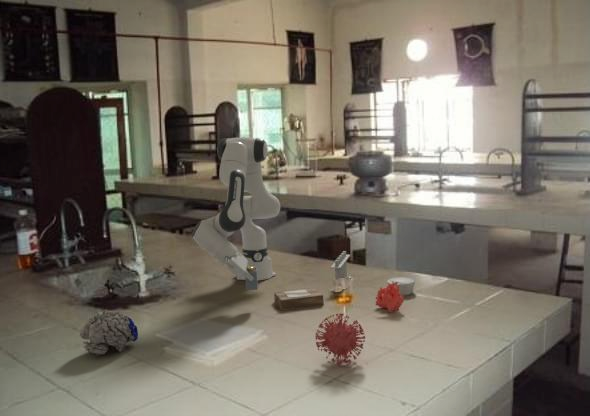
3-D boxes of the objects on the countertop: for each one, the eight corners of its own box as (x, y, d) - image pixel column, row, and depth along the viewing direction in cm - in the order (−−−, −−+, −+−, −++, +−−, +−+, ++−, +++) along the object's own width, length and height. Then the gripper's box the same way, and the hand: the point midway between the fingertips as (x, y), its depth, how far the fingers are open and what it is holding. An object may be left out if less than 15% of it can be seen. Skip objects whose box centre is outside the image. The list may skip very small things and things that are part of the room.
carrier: (246, 286, 249) (245, 268, 248) (257, 285, 249) (256, 267, 248) (246, 290, 244) (245, 271, 243) (257, 289, 244) (256, 271, 243)
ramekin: (386, 296, 256) (385, 283, 256) (388, 288, 267) (388, 276, 266) (414, 297, 254) (413, 284, 253) (415, 289, 264) (415, 277, 264)
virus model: (306, 363, 189) (304, 316, 187) (339, 349, 199) (337, 304, 197) (343, 376, 179) (341, 326, 177) (375, 361, 189) (374, 313, 187)
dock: (274, 302, 255) (274, 292, 254) (314, 297, 260) (313, 287, 259) (282, 310, 244) (281, 299, 243) (323, 304, 248) (323, 294, 248)
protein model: (378, 309, 244) (381, 279, 245) (406, 314, 237) (409, 283, 238) (367, 309, 237) (370, 278, 238) (396, 314, 230) (399, 282, 231)
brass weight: (247, 270, 247) (247, 266, 247) (254, 269, 247) (254, 265, 247) (247, 271, 244) (247, 267, 244) (254, 271, 244) (254, 267, 244)
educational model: (138, 364, 210) (151, 320, 214) (95, 357, 194) (109, 309, 197) (109, 356, 218) (122, 313, 221) (65, 349, 201) (79, 302, 205)
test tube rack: (341, 277, 289) (340, 249, 288) (351, 278, 288) (350, 249, 286) (331, 292, 265) (330, 262, 264) (341, 293, 264) (340, 262, 262)
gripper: (230, 254, 234) (257, 278, 235) (233, 242, 254) (259, 265, 256) (219, 266, 234) (246, 290, 236) (223, 254, 254) (248, 276, 256)
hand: (253, 277), depth 246 cm, fingers closed on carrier, 5 cm apart
